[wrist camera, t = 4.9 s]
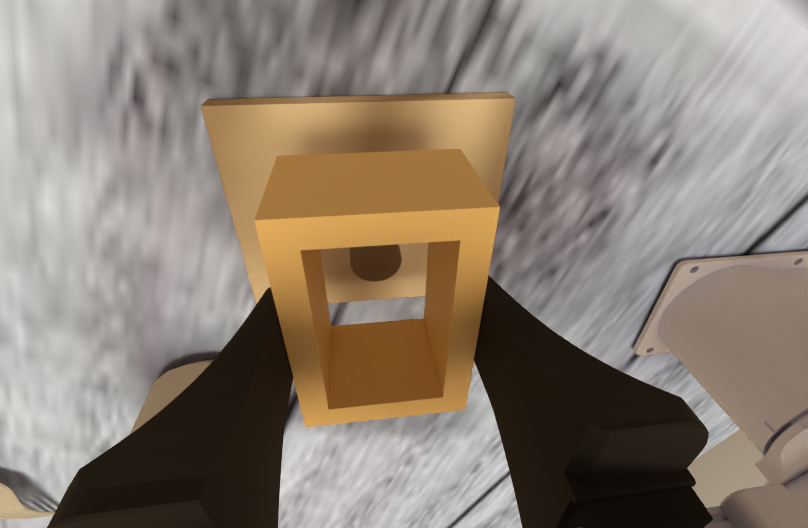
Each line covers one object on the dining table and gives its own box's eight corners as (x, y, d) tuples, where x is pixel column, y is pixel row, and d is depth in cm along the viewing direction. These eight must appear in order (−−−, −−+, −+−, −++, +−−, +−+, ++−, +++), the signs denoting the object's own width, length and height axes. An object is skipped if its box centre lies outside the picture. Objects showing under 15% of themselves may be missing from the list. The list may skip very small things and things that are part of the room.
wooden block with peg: (507, 92, 17) (553, 124, 13) (478, 279, 22) (505, 337, 19) (208, 99, 15) (166, 137, 12) (260, 296, 21) (244, 361, 17)
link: (460, 148, 13) (499, 206, 10) (443, 331, 18) (465, 409, 15) (277, 155, 12) (254, 220, 9) (312, 342, 17) (305, 427, 14)
